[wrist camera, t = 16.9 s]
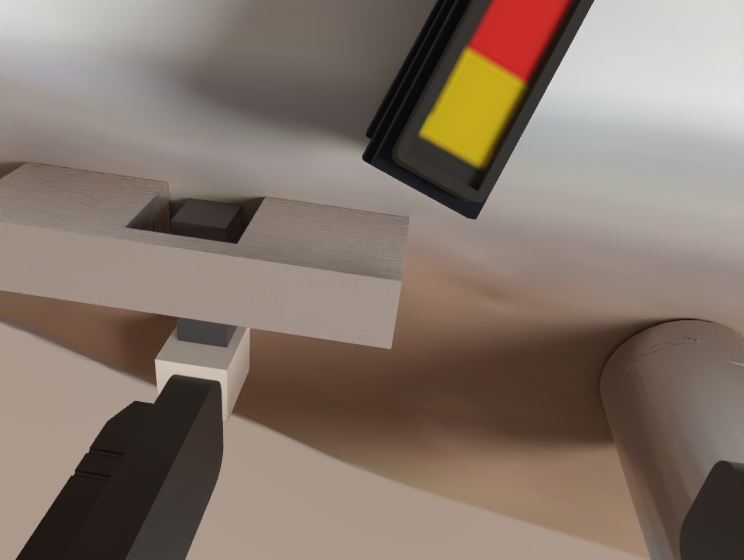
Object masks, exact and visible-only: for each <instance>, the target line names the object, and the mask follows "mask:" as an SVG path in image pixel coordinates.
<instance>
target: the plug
mask: <svg viewBox="0 0 744 560" xmlns="http://www.w3.org/2000/svg"><path fill="white" fill-rule="evenodd" d="M171 233H172V235H179V236H185V237H192V238H199V239H206V240H212V241H219V242H226V243H233V244H237V243H238V242H239V240H240V238H241V205H235V204H228V203H221V202H214V201H207V200H200V199H193V198H189V200H188V201H187V202H186V203H185V204H184V205H183V207H182V208H181V209H180V210H179V211H178V212H177V214H176V215H175V216H174V217H173V218H172V219H171ZM176 320H177V325H176V327H175V328H174V330H173V332H172V333H171V335H170V336H169V338H168V339H167V341H166V343H165V344H164V346H163V347H162V349H161V351H160V352H159V354H158V355H157V357H156V358H155V367H156V379H157V391H158V396H159V394H160V393H161V391H162V389H163V388H164V386H165V384H166V383H167V381H168V380H169V378H170V377H171V376H172V375H174V374H177V375H183V376H190V377H196V378H203V379H209V380H216V381H219V382H220V384H221V389H222V419H223V421H224V422H228V419H229V417H230V415H231V413H232V410H233V408H234V405H235V403H236V401H237V398H238V396H239V393H240V391H241V389H242V386H243V384H244V381H245V379H246V377H247V374H248V372H249V355H250V328H248V327H241V326H235V325H228V324H221V323H215V322H208V321H202V320H195V319H188V318H182V317H176Z"/></svg>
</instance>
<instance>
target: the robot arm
mask: <svg viewBox="0 0 744 560" xmlns="http://www.w3.org/2000/svg"><path fill="white" fill-rule="evenodd" d="M600 396H601V399H602V402H603V406H604V409H605V412H606V416H607V419H608V422H609V426H610V429H611V432H612V435H613V439H614V443H615V446H616V449H617V453H618V456H619V459H620V462H621V466H622V469H623V472H624V475H625V478H626V482H627V485H628V488H629V491H630V494H631V498H632V501H633V504H634V507H635V511H636V514H637V517H638V520H639V523H640V527H641V530H642V533H643V536H644V539H645V543H646V546H647V549H648V552H649V556H650V559H651V560H744V338H743V337H741V336H740V335H738V334H737V333H736V332H734V331H733V330H731V329H729V328H727V327H724V326H721V325H719V324H716V323H711V322H706V321H700V320H681V321H674V322H668V323H663V324H660V325H657V326H654V327H651V328H648V329H646V330H644V331H642V332H640V333H638V334H636V335H634V336H632V337H631V338H630V339H628V340H627V341H626V342H624V343H623V344H622V345H620V346H619V347H618V349H617V350H616V351H615V352H614V353H613V354H612V355H611V356H610V358H609V359H608V361H607V363H606V365H605V366H604V368H603V371H602V375H601V378H600ZM222 456H223V419H222V389H221V384H220V382H219V381H216V380H209V379H203V378H196V377H190V376H183V375H177V374H174V375H172V376H171V377H170V378H169V380H168V381H167V383H166V384H165V386H164V388H163V389H162V391H161V393H160V394H159V396H158V398H157V400H156V401H155V403H154V404H152V403H145V402H139V401H134V402H133V403H131V404H130V405H129V406H127V407H126V408H125V409H123V410H122V411H121V412H119V413H118V414H117V415H115V416H114V417H113V418H111V419H110V420H108V421H107V423H106V424H105V426H104V427H103V429H102V430H101V432H100V433H99V435H98V436H97V438H96V439H95V441H94V442H93V444H92V445H91V447H90V450H89V453H86V454H85V456H84V457H83V459H82V460H81V462H80V463H79V465H78V466H77V468H76V469H75V474H74V476H71V477H70V478H69V480H68V481H67V483H66V484H65V486H64V487H63V489H62V490H61V492H60V493H59V495H58V496H57V498H56V499H55V501H54V502H53V504H52V505H51V507H50V508H49V510H48V512H47V513H46V514H45V516H44V517H43V519H42V520H41V522H40V524H39V525H38V527H37V528H36V530H35V531H34V533H33V534H32V536H31V537H30V539H29V540H28V542H27V543H26V545H25V546H24V548H23V549H22V551H21V552H20V554H19V555H18V557H17V558H16V560H185V558H186V556H187V553H188V551H189V549H190V546H191V544H192V541H193V539H194V536H195V534H196V531H197V529H198V526H199V524H200V522H201V519H202V517H203V514H204V512H205V510H206V507H207V505H208V502H209V500H210V497H211V495H212V492H213V490H214V487H215V485H216V482H217V479H218V475H219V472H220V468H221V463H222Z"/></svg>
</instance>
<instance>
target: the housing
mask: <svg viewBox="0 0 744 560" xmlns="http://www.w3.org/2000/svg"><path fill="white" fill-rule="evenodd" d="M408 225H409V218H406V217H399V216H392V215H386V214H379V213H372V212H365V211H358V210H351V209H345V208H338V207H331V206H324V205H317V204H310V203H303V202H297V201H290V200H283V199H276V198H269V197H265V199H264V200H263V202H262V204H261V205H260V207H259V209H258V210H257V212H256V214H255V215H254V217H253V219H252V220H251V222H250V224H249V225H248V227H247V228H246V230H245V232H244V233H243V235H242V237H241V238H240V240H239V242H238V243H237V244H233V243H226V242H219V241H212V240H206V239H199V238H192V237H185V236H179V235H172V234H171V223H170V205H169V187H168V183H167V182H160V181H153V180H146V179H139V178H132V177H125V176H119V175H112V174H105V173H98V172H91V171H84V170H77V169H71V168H64V167H57V166H50V165H43V164H36V163H30V162H27V163H25V164H24V165H22V166H20V167H19V168H17V169H16V170H14V171H12V172H11V173H9V174H8V175H6V176H5V177H3V178H1V179H0V290H3V291H10V292H17V293H23V294H30V295H36V296H43V297H50V298H56V299H63V300H69V301H76V302H83V303H89V304H96V305H102V306H109V307H116V308H122V309H129V310H135V311H142V312H149V313H155V314H162V315H169V316H175V317H182V318H188V319H195V320H202V321H208V322H215V323H221V324H228V325H235V326H241V327H248V328H254V329H261V330H268V331H274V332H281V333H287V334H294V335H301V336H307V337H314V338H320V339H327V340H334V341H340V342H347V343H353V344H360V345H367V346H373V347H380V348H386V349H391V347H392V341H393V335H394V329H395V322H396V316H397V310H398V304H399V298H400V291H401V285H402V278H403V269H404V260H405V251H406V243H407V234H408Z"/></svg>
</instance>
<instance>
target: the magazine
mask: <svg viewBox="0 0 744 560" xmlns="http://www.w3.org/2000/svg"><path fill="white" fill-rule="evenodd" d="M593 2H594V0H438V1H437V3H436V4H435V6H434V8H433V10H432V12H431V14H430V15H429V17H428V19H427V21H426V23H425V25H424V26H423V28H422V30H421V32H420V34H419V36H418V37H417V39H416V41H415V43H414V45H413V47H412V48H411V50H410V52H409V54H408V56H407V58H406V60H405V61H404V63H403V65H402V67H401V69H400V71H399V72H398V74H397V76H396V78H395V80H394V82H393V83H392V85H391V87H390V89H389V91H388V93H387V94H386V96H385V98H384V100H383V102H382V104H381V105H380V107H379V109H378V111H377V113H376V115H375V117H374V118H373V120H372V122H371V124H370V126H369V128H368V130H367V133H366V136H367V137H368V138H370V139H371V141H370V142H369V144H368V146H367V148H366V150H365V152H364V154H363V156H362V158H363V160H364V161H365V162H367V163H369V164H371V165H372V166H374V167H376V168H377V169H379V170H381V171H383V172H385V173H387V174H388V175H390V176H392V177H394V178H396V179H397V180H399V181H401V182H403V183H405V184H407V185H408V186H410V187H412V188H414V189H416V190H417V191H419V192H421V193H423V194H425V195H427V196H428V197H430V198H432V199H434V200H436V201H438V202H439V203H441V204H443V205H445V206H447V207H448V208H450V209H452V210H454V211H456V212H458V213H459V214H461V215H463V216H465V217H467V218H469V219H476V218H477V217H478V215H479V213H480V211H481V209H482V208H483V206H484V204H485V202H486V200H487V198H488V196H489V195H490V193H491V191H492V189H493V187H494V185H495V183H496V182H497V180H498V178H499V176H500V174H501V172H502V170H503V169H504V167H505V165H506V163H507V161H508V159H509V158H510V156H511V154H512V152H513V150H514V148H515V146H516V145H517V143H518V141H519V139H520V137H521V135H522V133H523V132H524V130H525V128H526V126H527V124H528V122H529V120H530V119H531V117H532V115H533V113H534V111H535V109H536V107H537V106H538V104H539V102H540V100H541V98H542V96H543V94H544V93H545V91H546V89H547V87H548V85H549V83H550V81H551V80H552V78H553V76H554V74H555V72H556V70H557V69H558V67H559V65H560V63H561V61H562V59H563V57H564V56H565V54H566V52H567V50H568V48H569V46H570V44H571V43H572V41H573V39H574V37H575V35H576V33H577V31H578V30H579V28H580V26H581V24H582V22H583V20H584V18H585V17H586V15H587V13H588V11H589V9H590V7H591V5H592V4H593Z"/></svg>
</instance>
